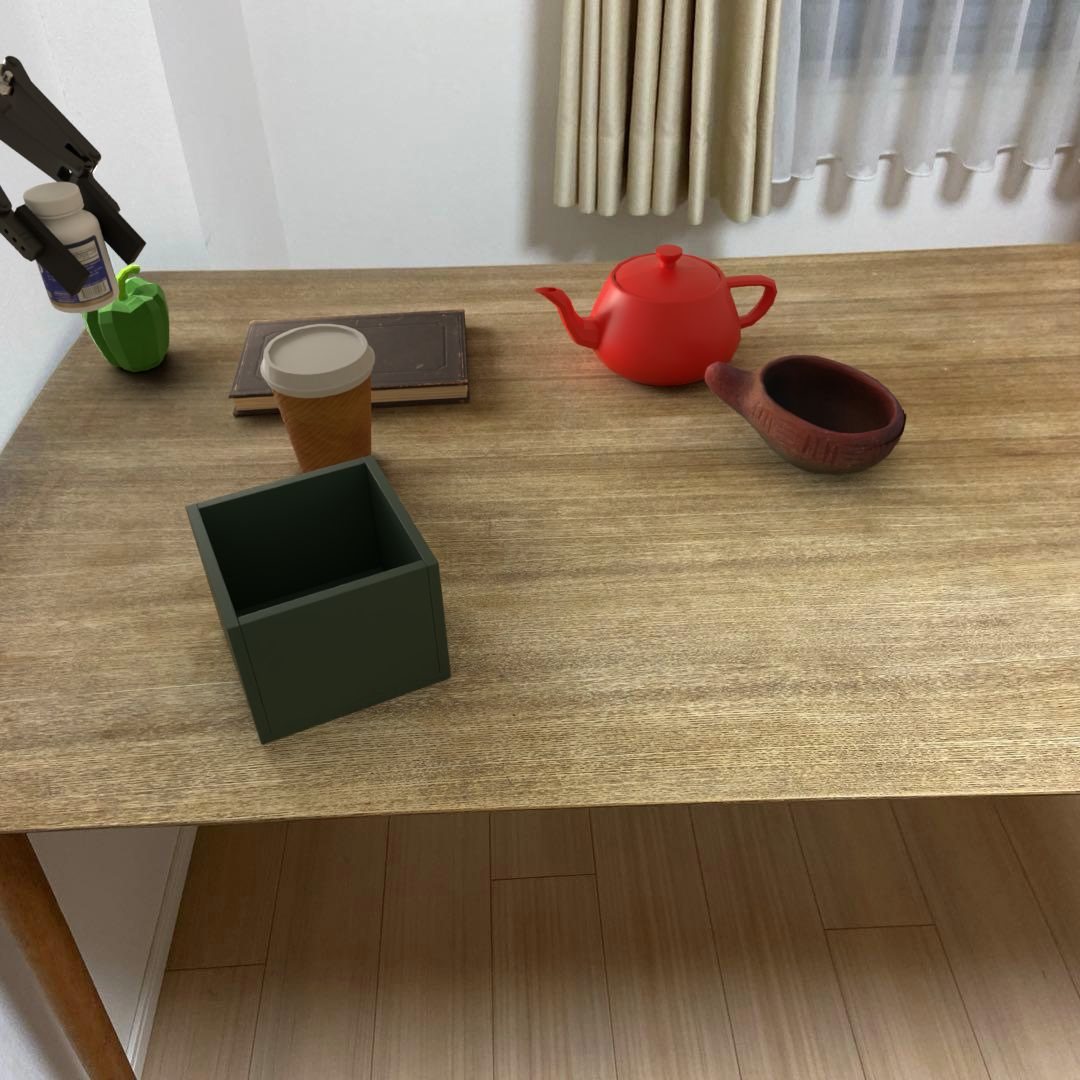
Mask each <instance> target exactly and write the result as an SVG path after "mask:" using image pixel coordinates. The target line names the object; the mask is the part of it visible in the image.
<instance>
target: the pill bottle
mask: <svg viewBox="0 0 1080 1080" xmlns="http://www.w3.org/2000/svg"><path fill="white" fill-rule="evenodd" d="M22 199H23V203H24V204H25V205H26V206H27V207H28V208H29V209H30V210H31V211H32V212H33V213H34V214H35V215H36V216H37V217H38V218H39V219H40V220H41V222H42V223H43V224H44V225H45V226H46V227H47V228H48V229H49V230H50V231H51V232H52V233H53V234H54V235H55V236H56V237H57V238H58V239H59V240H60V242H61V243H62V244H63V245H64V246H65V247H66V248H67V249H68V250H69V251H70V252H71V253H72V254H73V255H74V256H75V257H76V258H77V259H78V261H79V262H80V263H81V264H82V265H83V266H84V267H85V268H86V269H87V270H88V271H89V272H90V273H91V274H90V276H89V277H88V279H87V281H86V282H85V284H84V286H83V287H82V289H81V291H80V292H79V293H78V294H76V295H74V296H73V297H72V296H71V295H70V294H69V293H68V292H67V291H66V290H65V289H64V288H63V287H62V286H61V285H60V284H59V283H58V282H57V281H56V280H55V279H54V278H53V277H52V276H51V274H50V273H49V272H48V271H47V270H46V269H45V268H44V267H43V266H42V265H41V264H40V263H39V262H38V261H37V260H35V262H36V265H37V269H38V271H39V274H40V276H41V280H42V282H43V285H44V289H45V290H46V294H47V297H48V299H49V301H50V304H51V306H52V307H53V308H54V309H55V310H57V311H59V312H62V313H67V314H81V313H84V312H90V311H95V310H98V309H101V308H103V307H105V306H107V305H109V304H111V303H112V302H113V301H115V300H116V299H117V297H118V295H119V287H118V284H117V280H116V274H115V272H114V268H113V265H112V261H111V257H110V255H109V251H108V247H107V243H106V242H105V241H104V238H103V234H102V231H101V228H100V225H99V222H98V220H97V218H96V217H95V216H94V215H93V214H92V213H90V212H88V211H86V210H82V208H83V207H84V203H83V199H82V196H81V193H80V190H79V188H78V186H77V185H76V184H73V183H69V182H56V181H52V182H46V183H42V184H38V185H34V186H32V187H30V188H28V189H27V190H25V191H23V194H22Z"/></svg>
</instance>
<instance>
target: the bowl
mask: <svg viewBox="0 0 1080 1080" xmlns="http://www.w3.org/2000/svg"><path fill="white" fill-rule="evenodd" d="M704 382H705V383H706V385H707V386H708V388H709V389H710V391H711V392H712V393H713V394H714V395H715V396H717V398H719V399H720V400H721V401H722V402H723V403H725V404H726V405H727V406H728V407H730V408H731V409H732V410H733V411H735V412H736V413H737V414H739V416H741V418H743V419H744V420H745V421H746V422H748V424H749V426H751V427H752V428H753V429H754V430H755V431H756V432H757V434H758V436H760V438H761V439H762V440H763V441H764V442H765V444H766V445H767V446H768V447H769V448H770V449H771V450H772V451H773V452H774V453H775V454H776V455H777V456H778V457H780V458H781V459H782V460H784V461H785V462H787V463H789V464H790V465H792V466H794V467H795V468H798V469H799V470H803V471H806V472H808V473H812V474H813V473H814V474H821V475H831V476H836V475H846V474H847V475H848V474H855V473H860V472H863V471H867V470H869V469H871V468H873V467H875V466H877V465H879V464H880V463H881V462H883V461H884V460H885V459H886V458H888V457H889V455H890V454H891V453H892V452H893V451H894V449H895V447H896V446H897V445H898V444H899V442H900V441H901V438H902V436H903V434H904V431H905V427H906V422H907V414H906V412H905V410H904V408H902V406H901V403H900V401H899V400H898V398H896V396H895V395H894V394H893V393H892V392H891V390H889V388H888V387H887V386H885V385H884V384H883V383H882V382H880V381H879V380H878V379H877V378H874V377H873V376H871V375H869V374H867V373H866V372H863V371H862V370H859V369H857V368H856V367H853V366H851V365H848V364H846V363H842V362H840V361H837V360H834V359H831V358H827V357H824V356H823V357H822V356H818V355H811V354H809V355H807V354H787V355H782V356H779V357H776V358H774V359H772V360H770V361H768V362H766V363H764V364H763V365H762V366H760V367H759V368H758V369H753V370H751V371H749V370H748V371H747V370H743V369H740V368H738V367H735V366H733V365H732V364H730V363H728V364H726V363H723V362H719V361H718V362H716V363H713V364H710V366H709V367H707V370H706V373H705V379H704Z"/></svg>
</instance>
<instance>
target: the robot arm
mask: <svg viewBox="0 0 1080 1080" xmlns="http://www.w3.org/2000/svg"><path fill="white" fill-rule="evenodd" d="M0 141H1V142H2V143H3V144H5V145H6V146H7V147H9V148H11V149H12V150H13V151H14V152H16V153H17V154H18V155H20V156H21V157H23V158H24V159H25V160H27V161H28V162H29V163H30V164H32V165H33V166H35V168H37V169H39V170H40V171H41V172H43V173H44V174H45V175H47V176H48V177H49V178H51V179H52V180H54V182H69V183H73V184H76V185H77V186H78V188H79V190H80V193H81V196H82V199H83V203H84V207H83V208H82V210H86V211H88V212H90V213H92V214H93V215H94V216H95V217H96V218H97V220H98V222H99V225H100V228H101V231H102V234H103V238H104V241H105V244H106V245H107V246H109V247H110V248H111V250H112V251H113V252H114V253H115V254H116V256H118V257H119V258H120V259H121V260H122V261H123V263H125V265H126V266H129V265H133V263H135V262H136V261H137V259H138V257H139V256H140V254H141V253H142V251H143V250H144V248H145V247H146V244H147V242H146V240H144V238H143V237H142V236H141V235H140V234H139V233H138V232H137V231H136V230H135V229H134V228H133V227H132V225H130V223H129V222H128V221H127V220H126V219H125V218H124V217H123V216H122V215H121V214H120V211H121V207H120V206H119V203H118V202H117V201H116V200H115V199H114V198H113V196H112V195H110V193H108V191H107V190H106V189H105V188H104V187H103V186H102V185H101V183H99V181H98V180H97V179H96V178H95V176H94V173H95V172H96V170H97V167H98V165H99V164H100V162H101V160H102V154H101V152H100V151H99V150H98V149H97V148H96V147H95V146H94V145H93V144H92V143H91V142H90V141H89V139H87V138H86V136H84V135H83V133H81V132H80V130H78V128H77V127H76V126H75V125H74V124H73V123H72V122H71V121H70V120H69V119H68V118H67V117H66V115H65V114H64V113H63V112H61V111H60V110H59V108H58V107H57V106H56V105H55V104H54V103H53V102H52V101H51V100H50V99H49V98H48V97H47V96H46V95H45V94H44V93H43V92H42V91H41V89H39V87H37V85H36V84H35V83H34V82H33V81H32V80H31V78H30V76H29V74H28V72H27V70H26V69H25V66H24V65H23V63H22V61H20V59H19V58H17V57H16V56H13V55H6V56H5V57H4V60H3V63H0ZM0 235H1V236H3V238H4V239H5V240H6V241H7V242H8V243H9V244H10V245H11V246H12V247H13V248H14V249H15V251H17V252H18V253H19V254H20V255H21V256H22V257H23V258H24V259H25V260H27V261H29V262H31V263H32V262H34V261H36V260H37V261H38V262H39V263H40V264H41V265H42V266H43V267H44V268H45V269H46V270H47V271H48V272H49V273H50V274H51V276H52V277H53V278H54V279H55V280H56V281H57V282H58V283H59V284H60V285H61V286H62V287H63V288H64V289H65V290H66V291H67V292H68V293H69V294H70V295H71V296H72V297H73V296H74V295H76V294H78V293H79V292H80V291H81V289H82V287H83V286H84V284H85V282H86V281H87V279H88V277H89V276H90V274H91V273H90V272H89V271H88V270H87V269H86V268H85V267H84V266H83V265H82V264H81V263H80V262H79V261H78V259H77V258H76V257H75V256H74V255H73V254H72V253H71V252H70V251H69V250H68V249H67V248H66V247H65V246H64V245H63V244H62V243H61V242H60V240H59V239H58V238H57V237H56V236H55V235H54V234H53V233H52V232H51V231H50V230H49V229H48V228H47V227H46V226H45V225H44V224H43V223H42V222H41V220H40V219H39V218H38V217H37V216H36V215H35V214H34V213H33V212H32V211H31V210H30V209H29V208H28V207H27V206H26V205H25V203H23V204H21V205H19V206H16V208H15V210H13V204H12V202H11V200H10V198H9V197H8V196H7V193H6V192H5V191H4V189H3V187H2V185H0Z"/></svg>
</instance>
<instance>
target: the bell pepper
mask: <svg viewBox="0 0 1080 1080" xmlns="http://www.w3.org/2000/svg"><path fill="white" fill-rule="evenodd" d="M140 272H141V266H140V265H139V264H130V265H126V266H124V268H122V269H120V270H119V272H118V273H117V275H115V277H116V280H117V284H118V287H119V295H118V297H117V299H116V300H115V301H113V302H112V303H111V304H109V305H107V306H105V307H103V308H101V309H98V310H95V311H90V312H84V313H80V315H81V318H82V321H83V323H84V326H85V329H86V331H87V333H88V334H89V336H90V339H92V341H93V343H94V344H95V346H96V348H97V349H98V351H99V353H101V355H102V356H103V358H104V359H105V360H106V361H107V362H108V363H109V364H110V365H112V366H113V367H114V368H122V369H123V370H126V371H128V372H132V373H139V372H145V371H149V370H150V369H154V368H157V367H158V366H160V365H161V363H162V362H163V360H164V359H165V355H166V354H167V353H168V350H169V348H170V313H169V311H170V309H169V306H168V301H167V297H166V294H165V291H164V290H163V288H162V287H161V286H160V285H159V283H158V282H148V281H147V280H145V279H143V278H141V277H139V276H137V275H139V274H140ZM133 275H136V276H134V277H130V276H133ZM129 277H130V278H129Z"/></svg>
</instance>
